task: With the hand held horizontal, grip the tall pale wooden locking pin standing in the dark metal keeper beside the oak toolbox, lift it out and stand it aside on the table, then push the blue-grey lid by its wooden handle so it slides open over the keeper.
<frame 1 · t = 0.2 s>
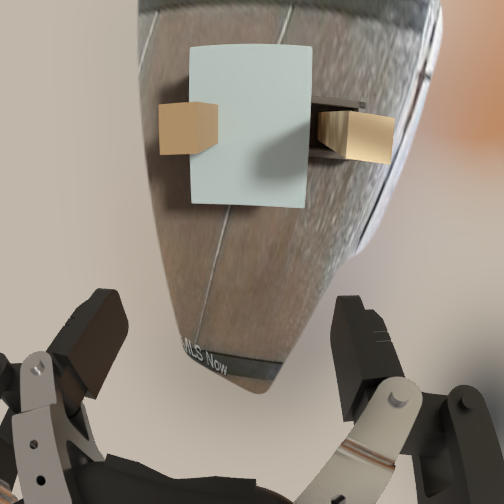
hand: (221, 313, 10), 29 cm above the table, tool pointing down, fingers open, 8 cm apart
toolbox: (254, 122, 33), on the table
wooden key: (331, 127, 32), resting in toolbox
lid: (244, 125, 23), point 11 cm above the table, slide at 0.0 cm
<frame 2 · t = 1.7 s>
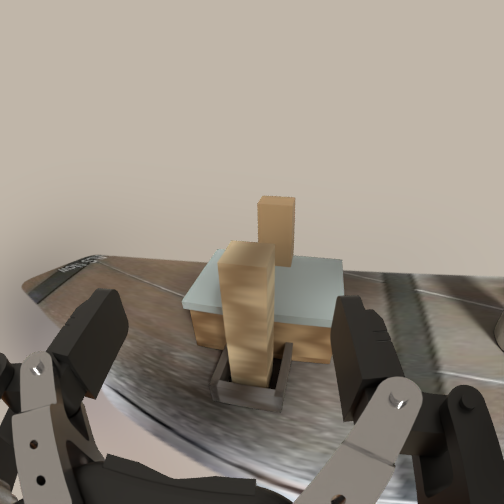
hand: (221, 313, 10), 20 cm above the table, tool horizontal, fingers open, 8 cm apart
toolbox: (270, 325, 37), on the table
wooden key: (253, 382, 29), resting in toolbox
lid: (270, 252, 32), point 11 cm above the table, slide at 0.0 cm
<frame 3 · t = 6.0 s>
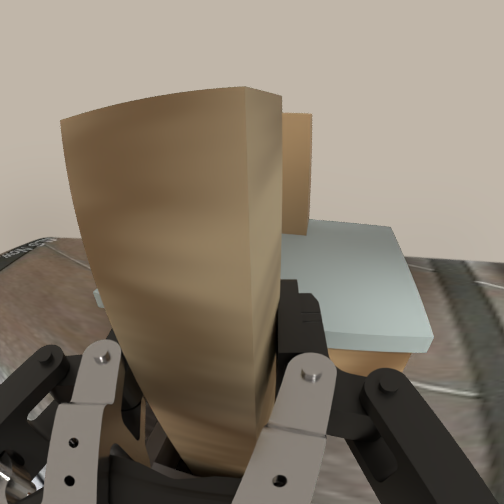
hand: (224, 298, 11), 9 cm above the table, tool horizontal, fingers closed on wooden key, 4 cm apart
toolbox: (268, 341, 21), on the table
wooden key: (233, 456, 13), resting in toolbox, touching gripper
lid: (269, 197, 16), point 11 cm above the table, slide at 0.0 cm
when the fingers open (10 cm above the table, at t = 10.4 s): wooden key stays where it is, on the table.
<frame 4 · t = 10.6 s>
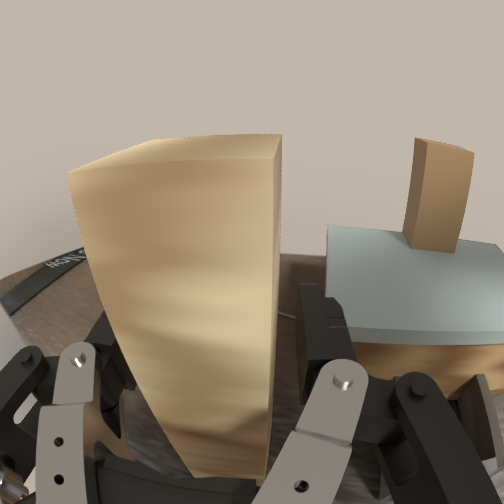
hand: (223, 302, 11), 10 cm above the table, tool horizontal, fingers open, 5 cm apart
toolbox: (415, 347, 20), on the table
wooden key: (235, 464, 13), on the table
lid: (458, 224, 15), point 11 cm above the table, slide at 0.0 cm
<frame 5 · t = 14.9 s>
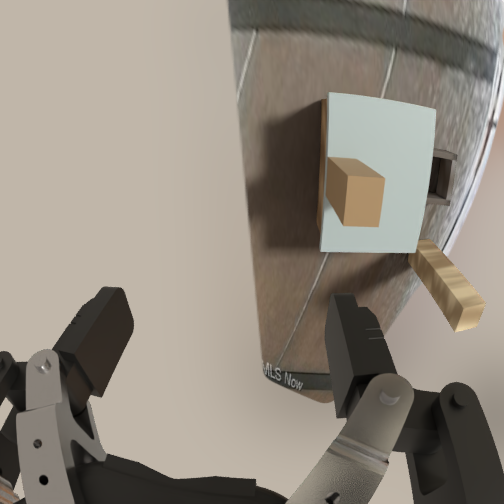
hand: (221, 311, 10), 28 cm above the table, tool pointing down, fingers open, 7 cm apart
toolbox: (361, 165, 34), on the table
wooden key: (418, 250, 39), on the table
lid: (394, 189, 24), point 11 cm above the table, slide at 0.0 cm
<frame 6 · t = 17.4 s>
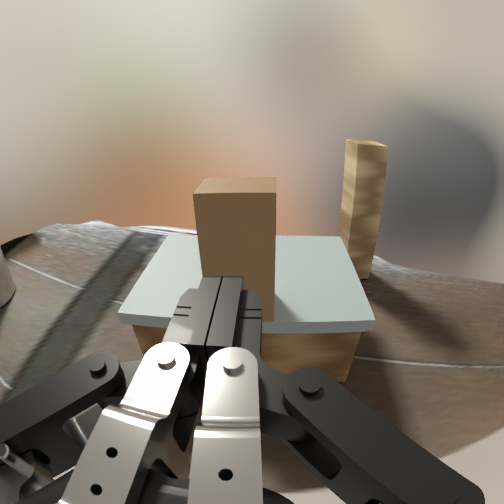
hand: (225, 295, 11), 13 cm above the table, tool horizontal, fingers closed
toolbox: (250, 335, 26), on the table
wooden key: (351, 271, 35), on the table
lid: (246, 227, 21), point 11 cm above the table, slide at 0.0 cm
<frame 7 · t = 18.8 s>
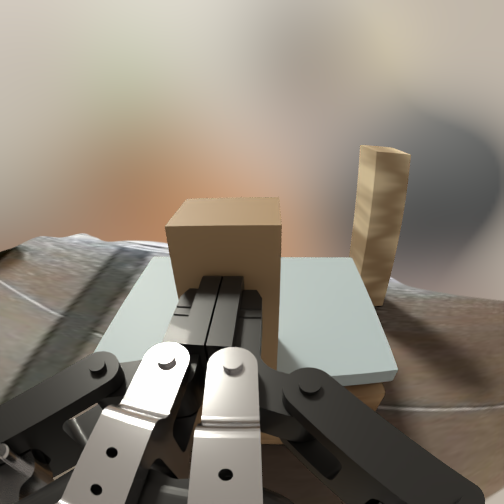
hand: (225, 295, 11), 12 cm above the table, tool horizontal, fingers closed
toolbox: (247, 382, 21), on the table
wooden key: (362, 297, 30), on the table
lid: (242, 255, 17), point 11 cm above the table, slide at 1.1 cm, touching gripper
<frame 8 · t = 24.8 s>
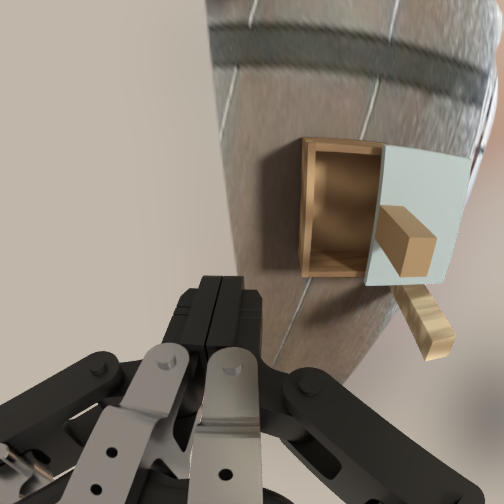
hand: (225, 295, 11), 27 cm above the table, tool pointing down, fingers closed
toolbox: (342, 199, 36), on the table
wooden key: (399, 275, 41), on the table
lid: (435, 237, 26), point 11 cm above the table, slide at 8.5 cm
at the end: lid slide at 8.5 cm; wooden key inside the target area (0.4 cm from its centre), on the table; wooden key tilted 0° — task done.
